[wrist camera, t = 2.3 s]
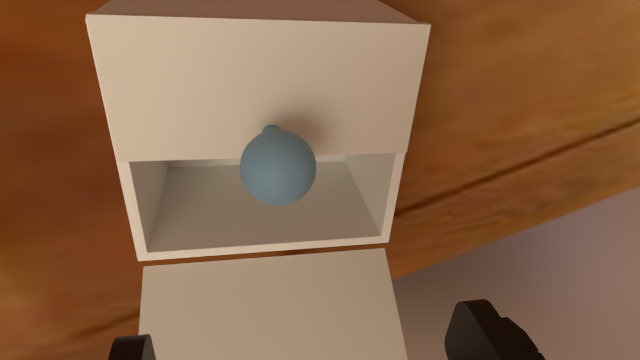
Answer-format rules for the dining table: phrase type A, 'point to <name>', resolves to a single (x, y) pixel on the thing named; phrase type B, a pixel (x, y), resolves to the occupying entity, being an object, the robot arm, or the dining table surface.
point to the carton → (225, 180)
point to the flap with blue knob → (257, 91)
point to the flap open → (274, 308)
